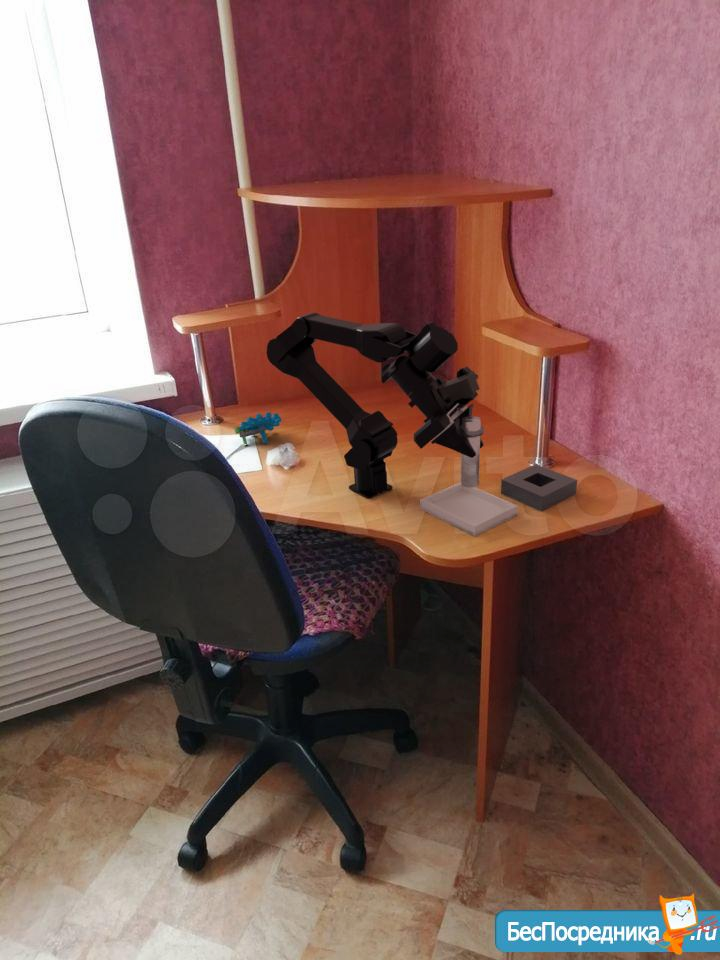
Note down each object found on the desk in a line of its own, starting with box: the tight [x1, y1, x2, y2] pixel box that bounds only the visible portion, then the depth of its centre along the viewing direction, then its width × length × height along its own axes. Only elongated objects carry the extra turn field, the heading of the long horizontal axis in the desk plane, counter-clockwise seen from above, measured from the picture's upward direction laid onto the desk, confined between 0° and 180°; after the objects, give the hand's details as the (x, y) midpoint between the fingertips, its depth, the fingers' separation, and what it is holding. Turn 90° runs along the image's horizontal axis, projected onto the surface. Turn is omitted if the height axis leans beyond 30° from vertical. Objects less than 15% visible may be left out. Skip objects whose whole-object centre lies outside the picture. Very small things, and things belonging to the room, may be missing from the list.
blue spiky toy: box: [233, 411, 283, 445], centre depth 174 cm, size 11×6×10 cm
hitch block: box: [500, 463, 578, 512], centre depth 144 cm, size 10×10×3 cm
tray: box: [419, 481, 518, 537], centre depth 139 cm, size 14×11×2 cm
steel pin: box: [459, 415, 485, 488], centre depth 134 cm, size 4×4×12 cm
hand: (478, 451), depth 133 cm, fingers closed on steel pin, 4 cm apart
